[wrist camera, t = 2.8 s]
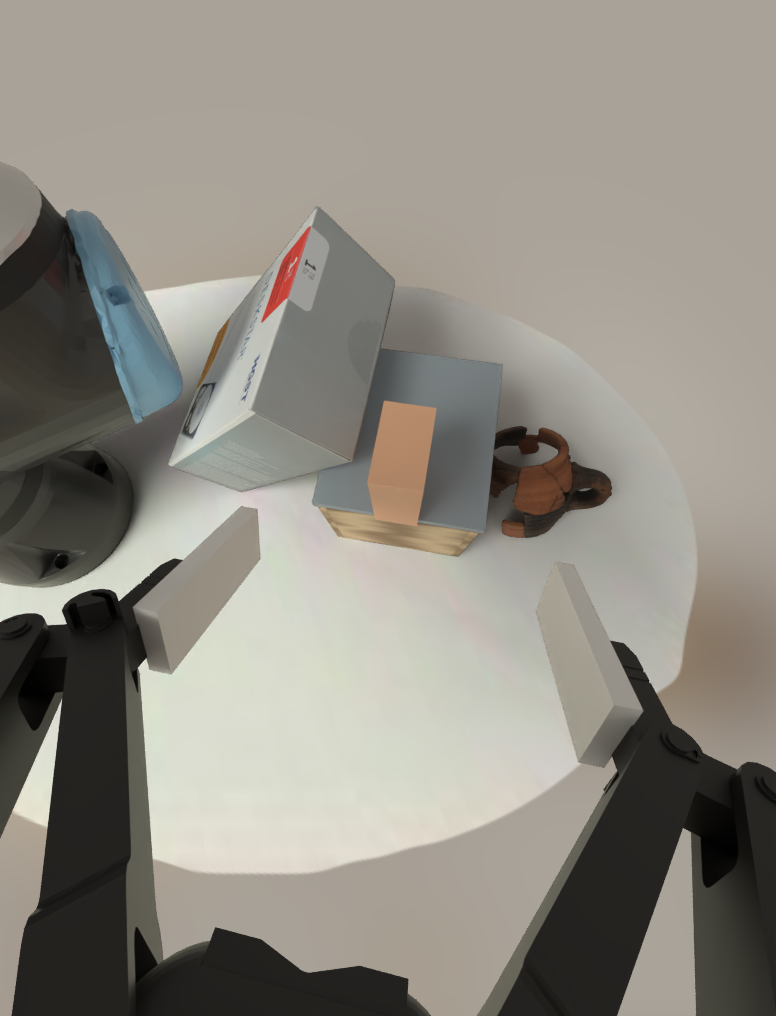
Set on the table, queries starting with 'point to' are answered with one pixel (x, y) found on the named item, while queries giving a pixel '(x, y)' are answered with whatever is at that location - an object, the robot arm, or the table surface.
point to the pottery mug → (544, 483)
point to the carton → (398, 532)
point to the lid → (421, 444)
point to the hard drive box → (290, 366)
